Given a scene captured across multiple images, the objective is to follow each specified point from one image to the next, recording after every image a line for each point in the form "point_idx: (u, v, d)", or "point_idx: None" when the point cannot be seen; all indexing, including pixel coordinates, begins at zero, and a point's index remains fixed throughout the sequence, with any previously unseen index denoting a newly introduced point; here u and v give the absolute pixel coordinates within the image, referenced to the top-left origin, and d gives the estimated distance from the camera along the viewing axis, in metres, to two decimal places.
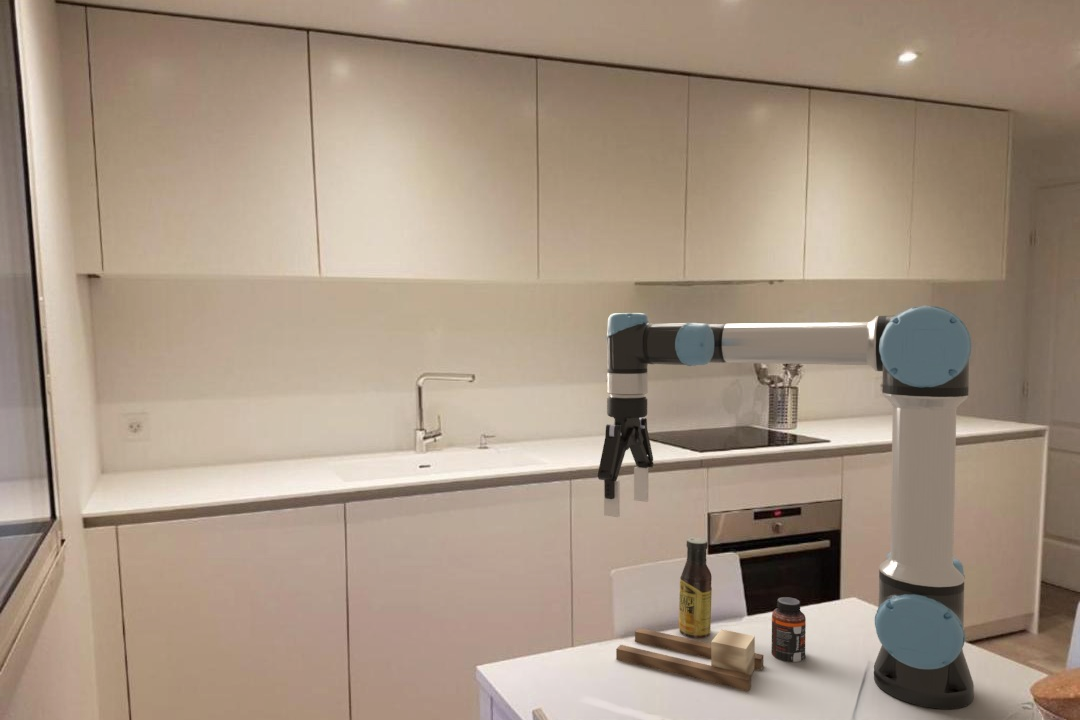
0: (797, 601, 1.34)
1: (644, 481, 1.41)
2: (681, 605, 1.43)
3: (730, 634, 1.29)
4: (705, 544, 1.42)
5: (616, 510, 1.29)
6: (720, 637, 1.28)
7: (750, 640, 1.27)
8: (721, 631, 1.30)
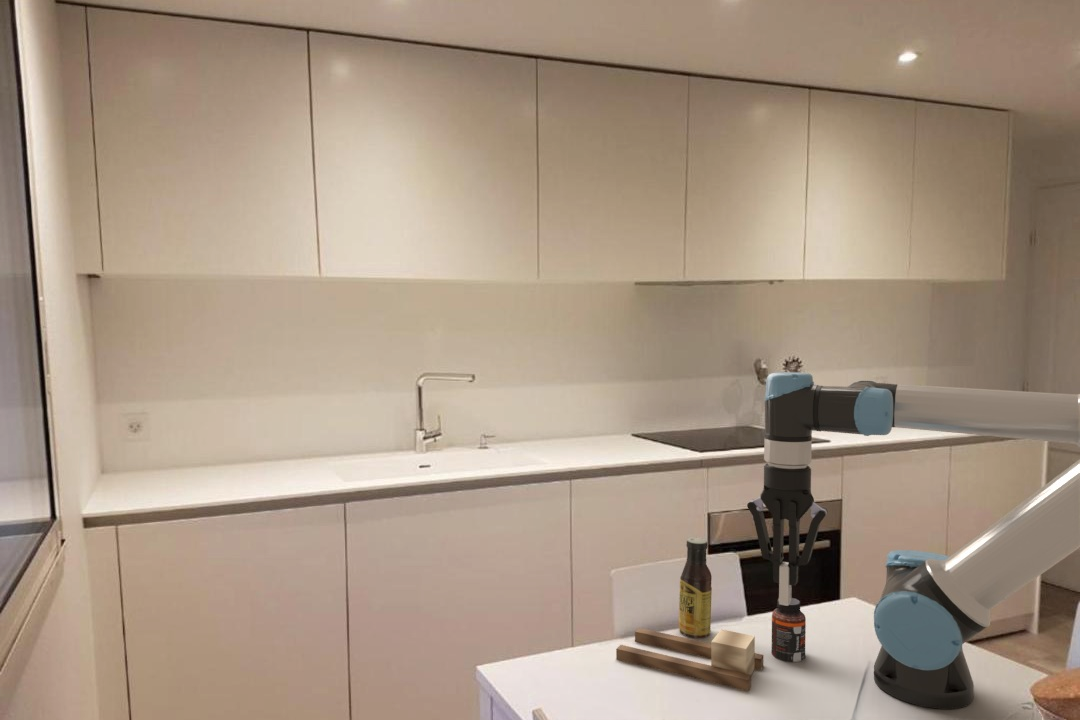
0: (797, 601, 1.34)
1: None
2: (681, 605, 1.43)
3: (730, 634, 1.29)
4: (705, 544, 1.42)
5: None
6: (720, 637, 1.28)
7: (750, 640, 1.27)
8: (721, 631, 1.30)
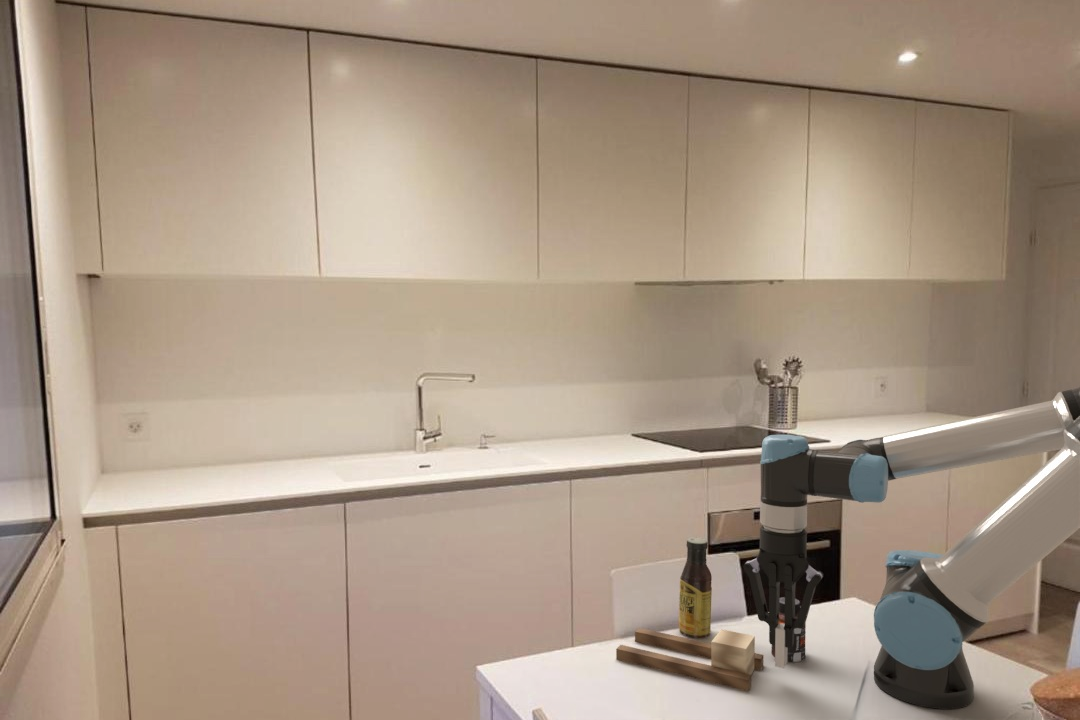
0: (797, 601, 1.34)
1: None
2: (681, 605, 1.43)
3: (730, 634, 1.29)
4: (705, 544, 1.42)
5: None
6: (720, 637, 1.28)
7: (750, 640, 1.27)
8: (721, 631, 1.30)
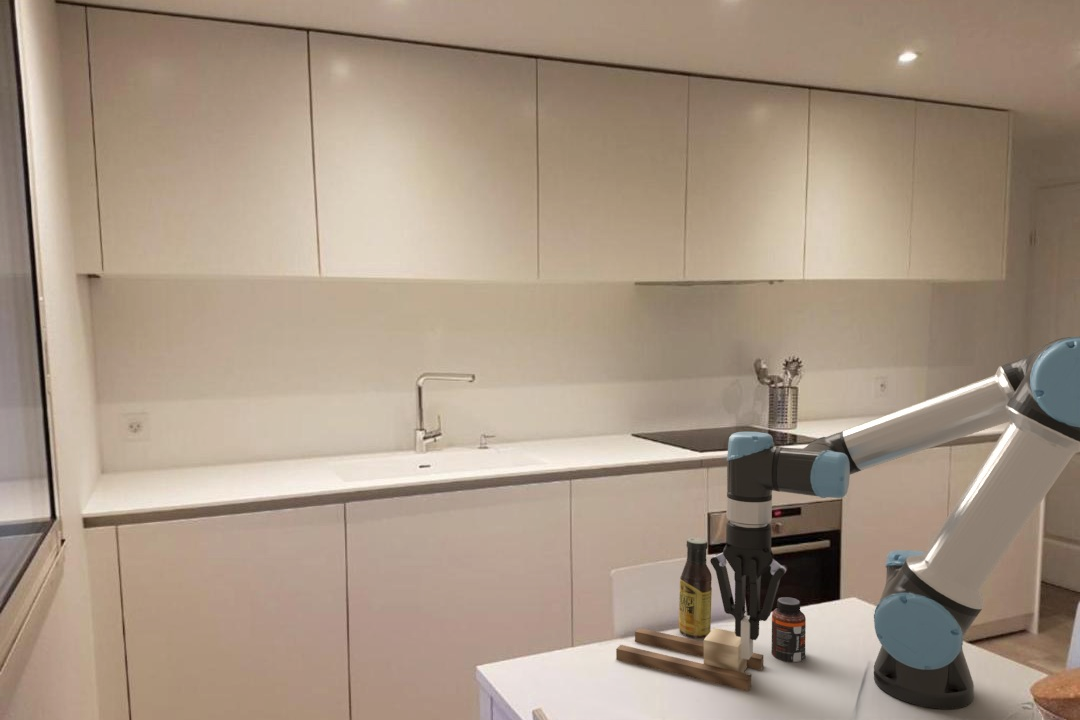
0: (797, 601, 1.34)
1: None
2: (681, 605, 1.43)
3: (722, 632, 1.30)
4: (705, 544, 1.42)
5: None
6: (713, 635, 1.29)
7: None
8: (714, 629, 1.31)
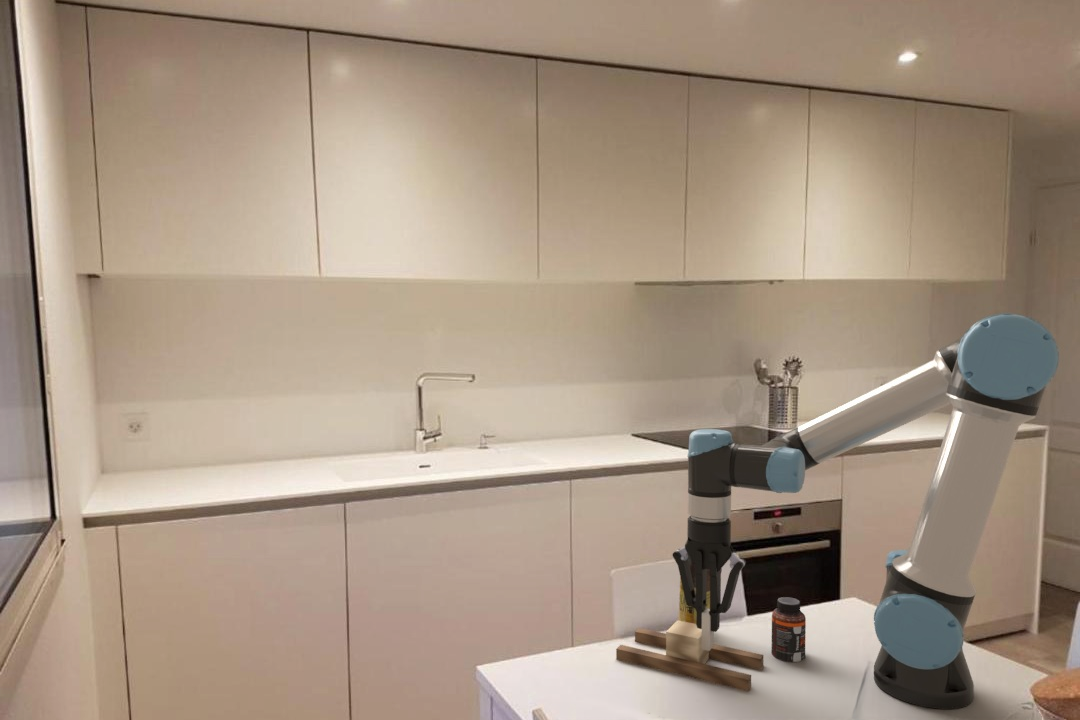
0: (797, 601, 1.34)
1: None
2: (681, 605, 1.43)
3: (685, 625, 1.33)
4: None
5: None
6: (676, 627, 1.32)
7: None
8: (677, 622, 1.35)
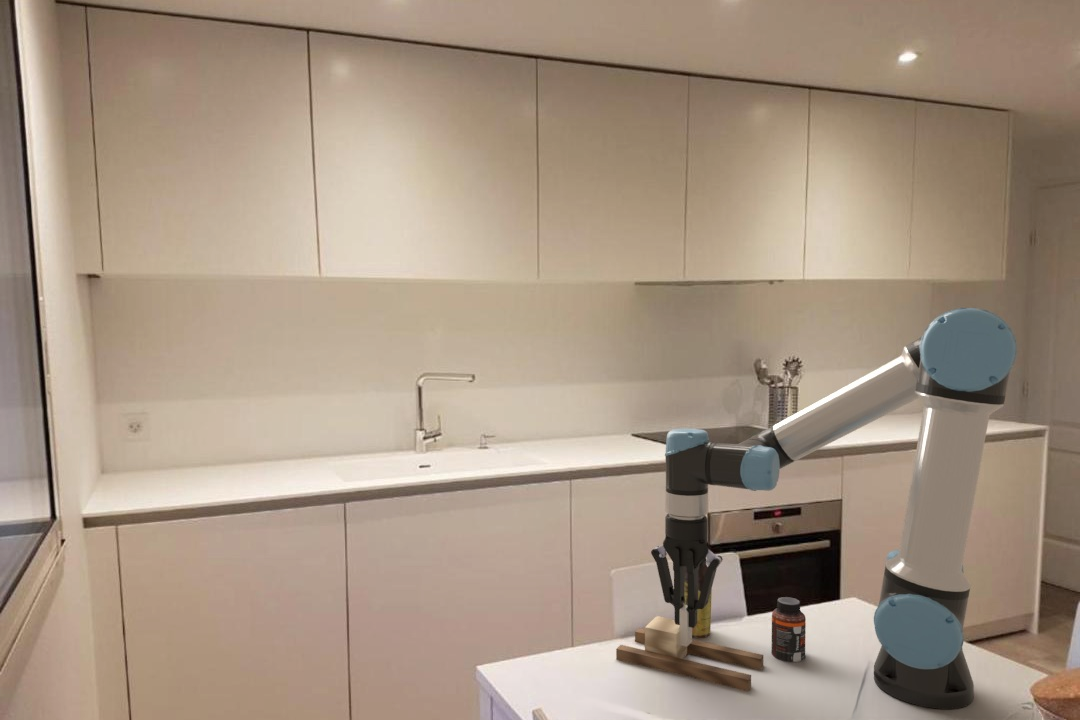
0: (797, 601, 1.34)
1: None
2: None
3: (664, 620, 1.35)
4: None
5: None
6: (654, 623, 1.34)
7: None
8: (657, 617, 1.37)
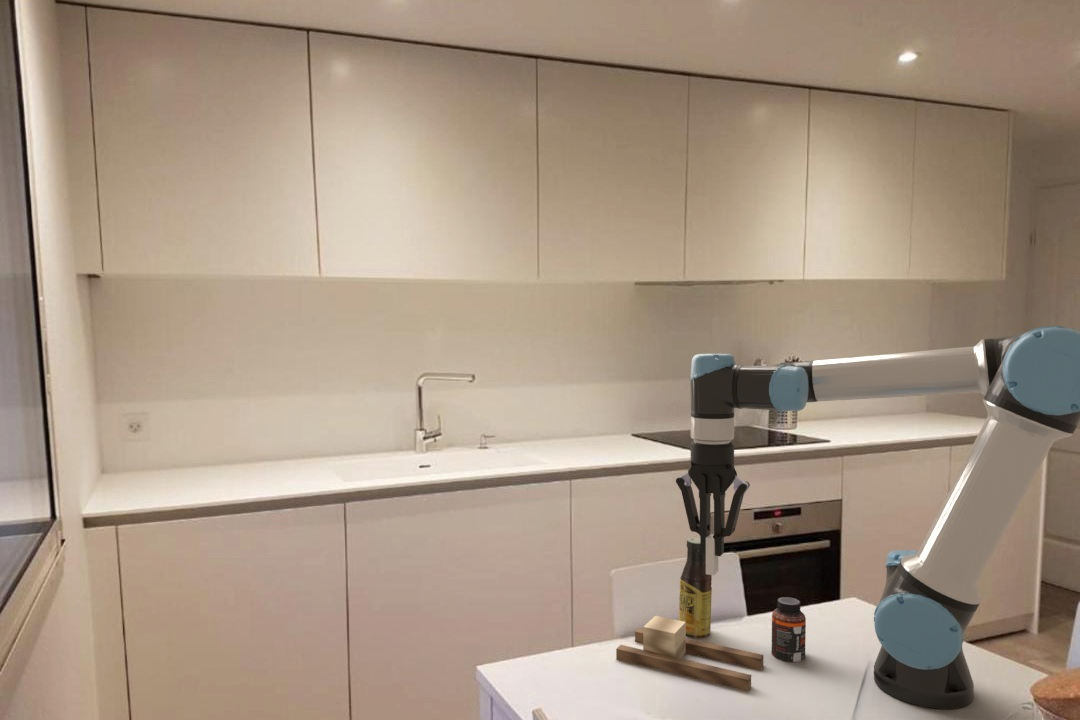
0: (797, 601, 1.34)
1: None
2: (681, 605, 1.43)
3: (663, 620, 1.35)
4: None
5: (706, 567, 1.28)
6: (653, 622, 1.34)
7: (680, 625, 1.33)
8: (655, 617, 1.37)
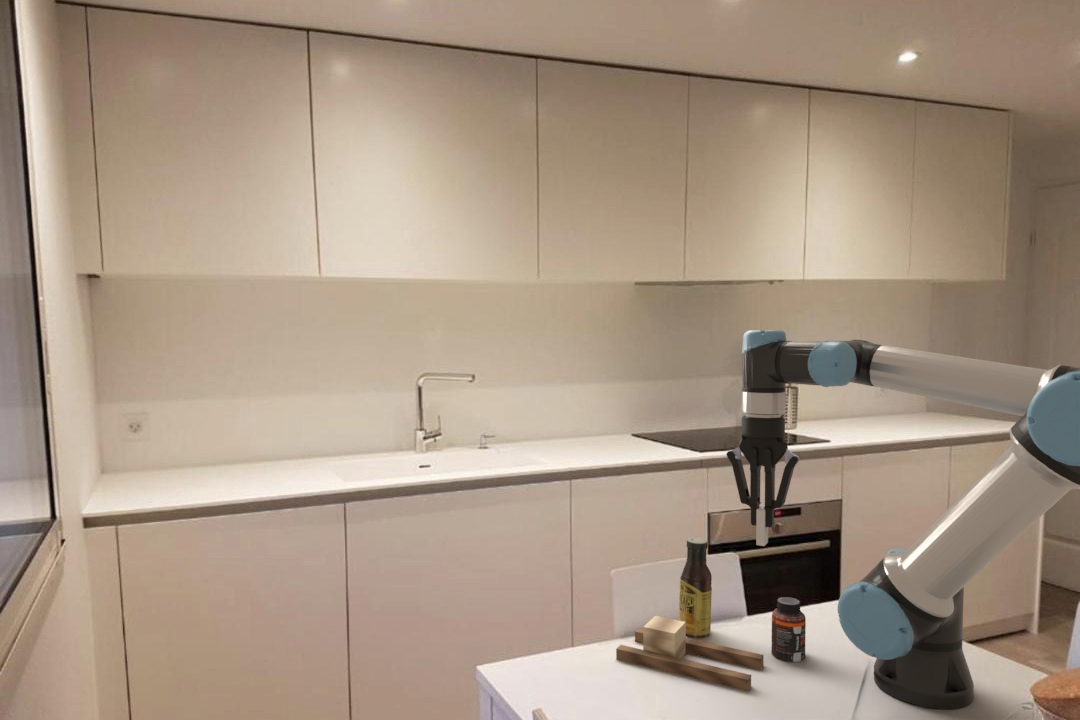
0: (797, 601, 1.34)
1: None
2: (681, 605, 1.43)
3: (663, 620, 1.35)
4: (705, 544, 1.42)
5: None
6: (653, 622, 1.34)
7: (680, 625, 1.33)
8: (655, 617, 1.37)
